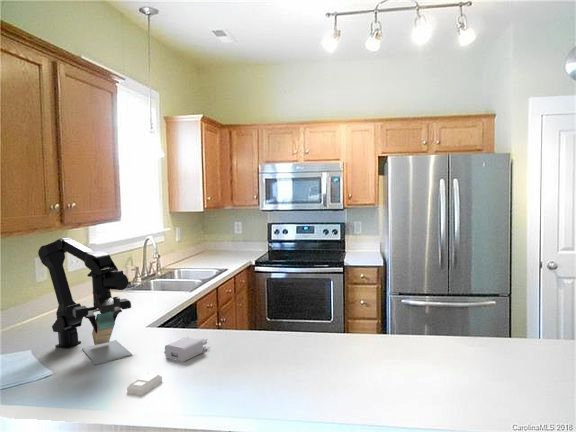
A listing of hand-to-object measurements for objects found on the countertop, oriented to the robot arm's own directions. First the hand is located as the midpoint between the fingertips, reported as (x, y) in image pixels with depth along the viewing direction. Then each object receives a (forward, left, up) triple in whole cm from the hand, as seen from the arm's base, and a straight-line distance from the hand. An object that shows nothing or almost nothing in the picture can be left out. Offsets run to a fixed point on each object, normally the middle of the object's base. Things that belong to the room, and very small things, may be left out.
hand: (104, 331), depth 152 cm
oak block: (-5, +3, -4) cm, 7 cm away
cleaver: (+22, +11, -8) cm, 25 cm away
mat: (+2, -1, -7) cm, 7 cm away
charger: (+32, +6, -8) cm, 34 cm away
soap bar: (+35, -21, -8) cm, 42 cm away
